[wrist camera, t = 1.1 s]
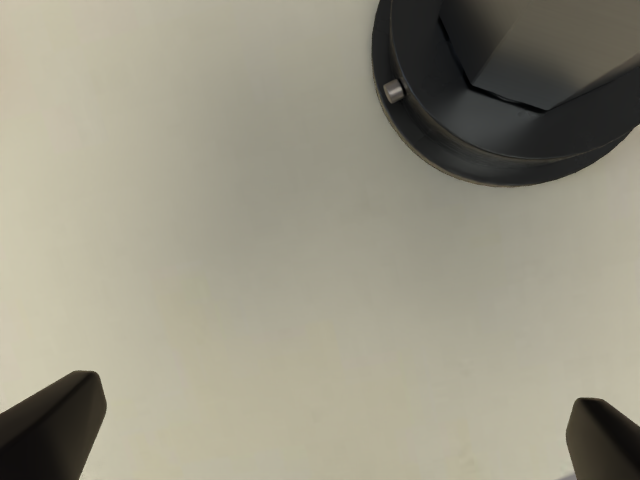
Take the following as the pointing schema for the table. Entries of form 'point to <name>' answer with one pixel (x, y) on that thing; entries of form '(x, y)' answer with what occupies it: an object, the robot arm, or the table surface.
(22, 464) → the robot arm
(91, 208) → the table surface
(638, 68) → the dark round pedestal
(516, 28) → the steel cup
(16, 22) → the table surface
